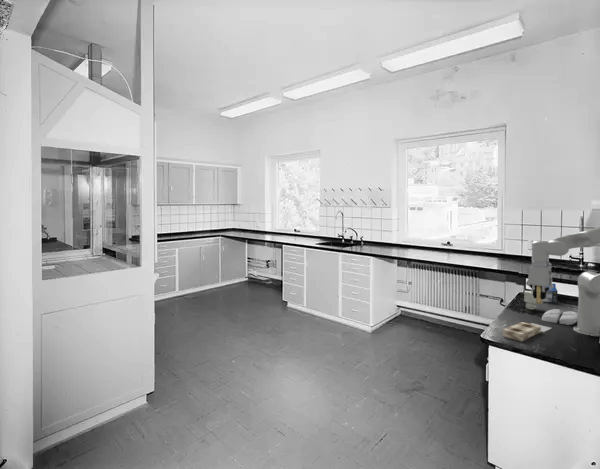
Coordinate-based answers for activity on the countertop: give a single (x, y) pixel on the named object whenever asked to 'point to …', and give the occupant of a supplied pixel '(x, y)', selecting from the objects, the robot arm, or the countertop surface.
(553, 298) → the label tape cartridge
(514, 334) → the hole block
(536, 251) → the robot arm
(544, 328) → the rubber mat
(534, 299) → the pneumatic valve
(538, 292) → the brass peg
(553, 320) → the lung model
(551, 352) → the countertop surface
